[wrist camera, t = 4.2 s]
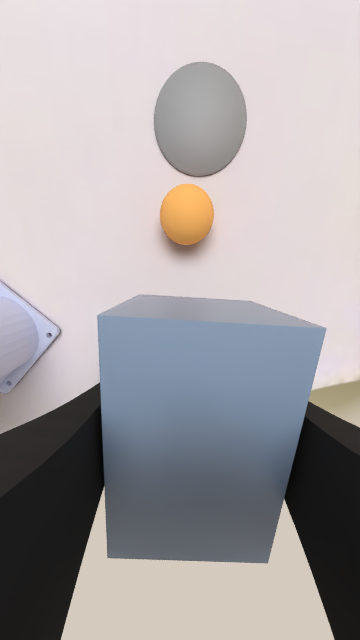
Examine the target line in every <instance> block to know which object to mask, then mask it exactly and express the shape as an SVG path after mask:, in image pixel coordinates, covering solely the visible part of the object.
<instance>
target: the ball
mask: <svg viewBox="0 0 360 640" xmlns="http://www.w3.org/2000/svg"><path fill="white" fill-rule="evenodd" d="M213 217H214V210H213V205H212V202H211V199H210V198H209V196H208V195H207V193H206V192H205V191H204V190H203V189H202V188H200V187H198V186H196V185H193V184H182V185H179V186H176V187H175V188H173V189H172V190H171V191H169V193H168V194H167V195H166V196H165V198H164V200H163V202H162V205H161V209H160V220H161V225H162V228H163V230H164V232H165V233H166V235H167V236H168V237H169V238H170V239H171V240H172V241H174V242H176V243H178V244H181V245H192V244H195V243H197V242H199V241H201V240H202V239H203V238H204V237H205V236H206V235H207V234H208V232H209V230H210V228H211V226H212V223H213Z"/></svg>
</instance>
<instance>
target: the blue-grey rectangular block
mask: <svg viewBox="0 0 360 640" xmlns="http://www.w3.org/2000/svg"><path fill="white" fill-rule="evenodd" d="M97 319H98V342H99V366H100V390H101V414H102V437H103V461H104V485H105V508H106V532H107V556H108V558H123V559H152V560H153V559H154V560H183V561H186V560H187V561H214V562H245V563H268V560H269V556H270V552H271V548H272V544H273V540H274V536H275V532H276V528H277V524H278V520H279V516H280V512H281V508H282V504H283V500H284V496H285V492H286V488H287V484H288V480H289V476H290V472H291V468H292V464H293V460H294V456H295V452H296V448H297V444H298V440H299V436H300V432H301V428H302V424H303V420H304V416H305V412H306V408H307V404H308V400H309V396H310V392H311V388H312V384H313V380H314V376H315V372H316V368H317V364H318V360H319V356H320V352H321V348H322V344H323V340H324V336H325V332H326V328H324V327H321V326H318V325H316V324H313V323H310V322H307V321H305V320H302V319H299V318H296V317H293V316H291V315H288V314H285V313H282V312H280V311H277V310H274V309H271V308H268V307H266V306H263V305H260V304H257V303H254V302H252V301H240V300H224V299H207V298H190V297H173V296H157V295H138V296H136V297H134V298H132V299H129V300H127V301H125V302H123V303H121V304H119V305H117V306H115V307H113V308H111V309H109V310H107V311H105V312H103V313H101V314H99V315H97Z"/></svg>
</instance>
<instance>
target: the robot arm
mask: <svg viewBox="0 0 360 640" xmlns="http://www.w3.org/2000/svg"><path fill="white" fill-rule="evenodd" d="M49 333H51V334H52V337H51V336H50V335H49ZM59 333H60V330H59V328H58V327H57V326H56V325H54V324H53V323H52V322H51V321H49V320H48V319H47V318H46V317H45V316H43V315H42V314H41V313H40V312H38V311H37V310H36V309H35V308H33V307H32V306H31V305H30V304H28V303H27V302H26V301H25V300H23V299H22V298H21V297H20V296H18V295H17V294H16V293H15V292H13V291H12V290H11V289H10V288H8V287H7V286H6V285H5V284H3V283H2V282H1V281H0V392H1V393H4V394H6V393H8V392H10V391H11V390H12V389H13V388H14V387H15V385H16V384H17V383H18V382H19V381H20V379H21V378H22V377H23V376H24V375H25V374H26V372H27V371H28V370H29V369H30V368H31V366H32V365H33V364H34V363H35V362H36V361H37V359H38V358H39V357H40V356H41V355H42V353H43V352H44V351H45V350H46V349H47V348H48V346H49V345H50V344H51V343H52V342H53V340H54V339H55V338H56V337H57V336H58V335H59ZM103 488H104V461H103V437H102V414H101V390H100V383H98V384H97V385H95V386H94V387H92V388H91V389H89V390H88V391H86V392H84V393H83V394H81V395H79V396H78V397H76V398H74V399H73V400H71V401H69V402H68V403H66V404H64V405H62V406H60V407H58V408H57V409H55V410H53V411H51V412H49V413H47V414H45V415H43V416H41V417H38V418H36V419H34V420H32V421H30V422H27V423H25V424H23V425H20V426H18V427H16V428H13V429H11V430H9V431H7V432H4V433H2V434H0V640H61V636H62V633H63V629H64V625H65V621H66V617H67V614H68V610H69V607H70V603H71V599H72V596H73V592H74V588H75V585H76V581H77V577H78V573H79V570H80V566H81V563H82V559H83V556H84V552H85V549H86V545H87V542H88V538H89V535H90V531H91V528H92V524H93V521H94V518H95V514H96V511H97V508H98V504H99V501H100V498H101V494H102V491H103ZM284 499H285V501H286V504H287V507H288V509H289V512H290V515H291V517H292V520H293V522H294V525H295V527H296V530H297V533H298V536H299V538H300V541H301V544H302V546H303V549H304V552H305V555H306V557H307V560H308V563H309V566H310V568H311V571H312V574H313V577H314V580H315V583H316V586H317V588H318V592H319V595H320V597H321V600H322V603H323V606H324V609H325V612H326V615H327V618H328V621H329V623H330V626H331V630H332V633H333V636H334V639H335V640H360V428H359V427H357V426H355V425H353V424H351V423H349V422H347V421H345V420H342V419H341V418H339V417H337V416H335V415H332V414H331V413H329V412H327V411H325V410H323V409H321V408H320V407H318V406H316V405H314V404H312V403H311V402H309V401H308V404H307V408H306V412H305V416H304V420H303V424H302V428H301V432H300V436H299V440H298V444H297V448H296V452H295V456H294V460H293V464H292V468H291V472H290V476H289V480H288V484H287V488H286V492H285V496H284Z"/></svg>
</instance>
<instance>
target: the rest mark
mask: <svg viewBox="0 0 360 640" xmlns="http://www.w3.org/2000/svg"><path fill="white" fill-rule="evenodd" d="M246 121H247V113H246V105H245V100H244V97H243V94H242V91H241V89H240V87H239V85H238V84H237V82H236V81H235V79H234V78H233V77H232V76H231V75H230V74H229V73H228V72H227V71H226V70H224V69H223V68H221V67H220V66H217V65H215V64H212V63H208V62H195V63H191V64H188V65H185V66H183V67H181V68H180V69H178V70H177V71H176V72H174V73H173V74H172V75H171V76H170V77H169V79H168V80H167V81H166V83H165V84H164V86H163V87H162V89H161V91H160V93H159V96H158V99H157V102H156V107H155V114H154V125H155V133H156V138H157V141H158V144H159V147H160V149H161V151H162V153H163V154H164V156H165V158H166V159H167V160H168V161H169V163H171V164H172V165H173V166H174V167H175V168H176V169H178V170H179V171H181V172H183V173H186V174H188V175H193V176H206V175H210V174H213V173H215V172H217V171H219V170H221V169H222V168H224V167H225V166H226V165H227V164H228V163H229V162H230V161H231V160H232V159H233V157H234V156H235V155H236V153H237V151H238V150H239V147H240V145H241V143H242V141H243V137H244V134H245V129H246Z"/></svg>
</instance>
